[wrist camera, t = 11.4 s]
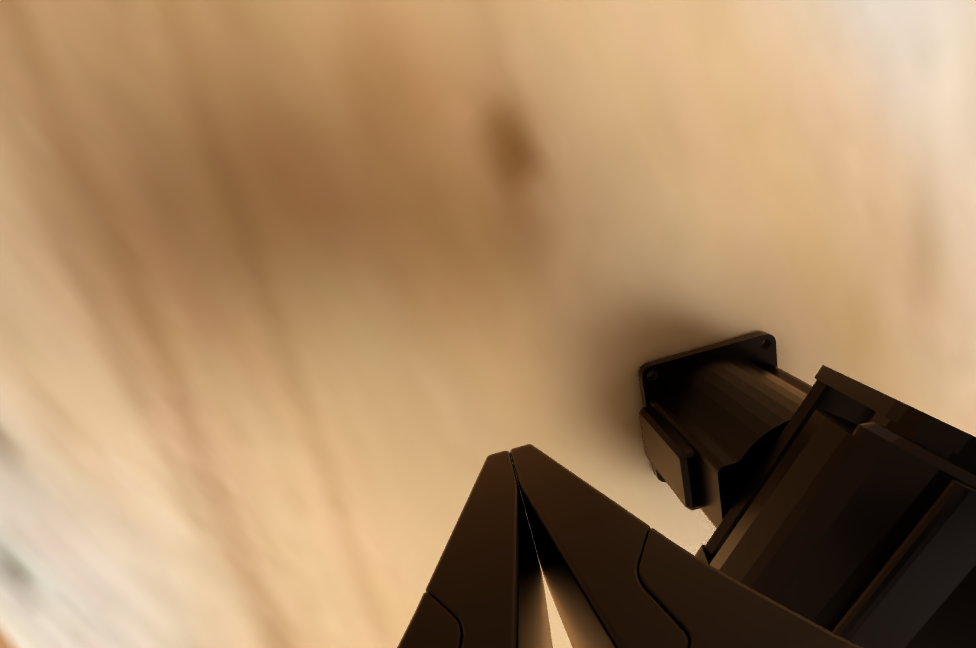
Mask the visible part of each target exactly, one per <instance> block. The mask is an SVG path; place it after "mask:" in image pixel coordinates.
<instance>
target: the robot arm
mask: <svg viewBox="0 0 976 648" xmlns="http://www.w3.org/2000/svg"><path fill="white" fill-rule="evenodd" d="M763 340H765V343H764V344H763V345H762V346H760V345H761V342H762V341H763ZM653 370H654V374H653V375H652V376H650V377H647V374H648V373H649V372H650V371H653ZM815 379H817V381H816V382H815V384H814V385H813V387H812V386H811V385H809V384H807V383H805V382H803V381H801V380H800V379H798V378H796V377H794V376H792V375H790V374H789V373H787V372H785V371H783V370H781V369H779V368H778V367H777V354H776V340H775V338H774V337H773V336H772V335H770V334H768V333H766V332H757V333H754V334H750V335H746V336H743V337H739V338H735V339H732V340H728V341H724V342H721V343H717V344H713V345H710V346H706V347H702V348H699V349H695V350H692V351H688V352H684V353H681V354H677V355H673V356H670V357H666V358H662V359H659V360H655V361H651V362H648V363H645V364H643V365H642V366H641V367H640V369H639V381H640V388H641V394H642V401H643V407H642V408H641V410H640V412H639V417H640V423H641V429H642V435H643V442H644V448H645V454H646V456H647V457H648V459H649V460H650V461H651V463H652V464H653V471H654V474H655V475H656V477H657V478H658V479H659V480H660V481H662V482H667V484H668V485H669V486H670V487H671V489H672V490H673V491H674V493H675V494H676V495H677V497H678V498H679V499H680V501H681V502H682V503H683V504H684V506H685V507H687V508H689V509H690V510H695V509H699V508H700V509H701V510H702V511H703V512H704V514H705V515H706V516H707V517H708V518H709V520H710V521H711V522H712V523H713V525H714V526H715V527H716V528H717V529H716V531H715V532H714V534H713V535H712V536H711V538H710V539H709V541H708V542H707V544H706V545H702V546H701V547H700V549H699V550H698V552H697V553H696V555H695V556H694V555H692V554H691V553H689V552H688V551H686V550H685V549H683V548H682V547H680V546H678V545H677V544H675V543H674V542H672V541H671V540H669V539H668V538H666V537H665V536H663V535H662V534H661V533H659V532H658V531H656V530H655V529H653V528H650V526H649V525H647V524H646V523H644V522H643V521H641V520H640V519H639V518H637V517H636V516H634V515H633V514H631V513H630V512H628V511H627V510H626V509H624V508H623V507H621V506H620V505H618V504H617V503H615V502H614V501H613V500H611V499H610V498H608V497H607V496H605V495H604V494H602V493H601V492H599V491H598V490H597V489H595V488H594V487H592V486H591V485H589V484H588V483H586V482H585V481H584V480H582V479H581V478H579V477H578V476H576V475H575V474H573V473H572V472H571V471H569V470H568V469H566V468H565V467H563V466H562V465H560V464H559V463H557V462H556V461H555V460H553V459H552V458H550V457H549V456H547V455H546V454H544V453H543V452H542V451H540V450H539V449H537V448H536V447H534V446H533V445H531V444H528V445H524V446H520V447H517V448H513V449H512V450H511V452H510V453H509V452H508V451H502V452H499V453H495V454H492V455H489V456H488V457H487V459H486V461H485V463H484V465H483V467H482V469H481V471H480V474H479V476H478V478H477V480H476V482H475V484H474V487H473V489H472V491H471V493H470V495H469V497H468V500H467V502H466V504H465V506H464V508H463V510H462V512H461V515H460V517H459V519H458V521H457V523H456V525H455V528H454V530H453V532H452V534H451V536H450V538H449V541H448V543H447V545H446V547H445V549H444V551H443V553H442V556H441V558H440V560H439V562H438V564H437V566H436V569H435V571H434V573H433V575H432V577H431V579H430V582H429V584H428V586H427V588H426V593H424V594H423V596H422V598H421V600H420V603H419V605H418V607H417V609H416V611H415V613H414V615H413V617H412V619H411V621H410V623H409V625H408V627H407V629H406V631H405V633H404V635H403V637H402V639H401V641H400V643H399V645H398V647H397V648H553V646H552V639H551V632H550V625H549V618H548V611H547V604H546V597H545V590H544V583H543V578H542V572H543V575H544V577H545V580H546V583H547V585H548V588H549V590H550V593H551V595H552V598H553V600H554V603H555V605H556V608H557V610H558V613H559V615H560V617H561V620H562V622H563V625H564V627H565V630H566V632H567V635H568V637H569V640H570V642H571V645H572V647H573V648H976V437H974V436H972V435H970V434H968V433H966V432H964V431H961V430H959V429H957V428H955V427H953V426H951V425H949V424H947V423H945V422H942V421H940V420H938V419H936V418H934V417H932V416H930V415H928V414H925V413H923V412H921V411H919V410H917V409H915V408H913V407H911V406H909V405H906V404H904V403H902V402H900V401H898V400H896V399H894V398H892V397H890V396H887V395H885V394H883V393H881V392H879V391H877V390H875V389H873V388H870V387H868V386H866V385H864V384H862V383H860V382H858V381H856V380H854V379H851V378H849V377H847V376H845V375H843V374H841V373H839V372H837V371H835V370H832V369H830V368H828V367H826V366H824V365H823V366H822V367H821V369H820V370H819V372H818V373H817V375H816V376H815ZM510 454H511V455H510ZM511 458H512V459H511ZM512 462H513V463H512ZM513 465H514V466H513ZM514 469H515V470H514ZM515 473H516V474H515ZM517 480H518V481H517ZM518 484H519V485H518ZM520 491H521V492H520ZM521 495H522V496H521ZM522 499H523V500H522ZM524 506H525V507H524ZM525 510H526V511H525ZM526 514H527V515H526ZM527 517H528V518H527ZM528 521H529V522H528ZM529 525H530V526H529ZM530 529H531V530H530ZM531 532H532V533H531ZM532 536H533V537H532ZM533 540H534V541H533ZM534 543H535V545H534ZM535 547H536V548H535ZM536 551H537V552H536ZM537 555H538V556H537ZM538 558H539V559H538ZM539 562H540V564H539ZM540 565H541V568H542V572H541V568H540Z"/></svg>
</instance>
